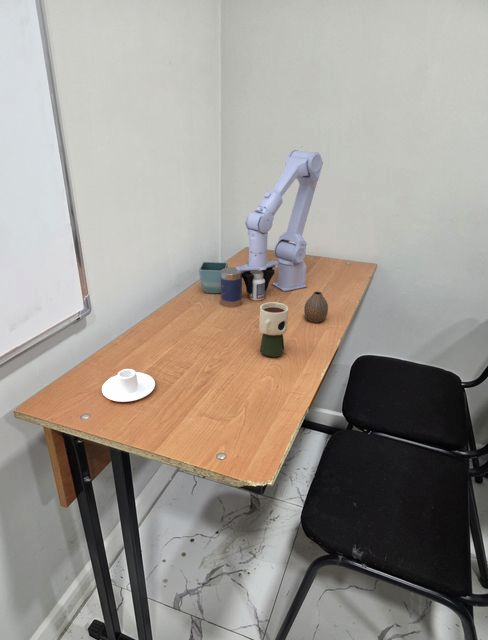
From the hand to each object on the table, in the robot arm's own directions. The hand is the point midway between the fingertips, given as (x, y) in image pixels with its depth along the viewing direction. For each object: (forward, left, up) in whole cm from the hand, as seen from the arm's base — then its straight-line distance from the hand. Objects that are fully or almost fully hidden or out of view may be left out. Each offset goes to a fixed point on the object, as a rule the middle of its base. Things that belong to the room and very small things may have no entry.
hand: (256, 291), depth 148 cm
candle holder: (+53, +33, -3) cm, 62 cm away
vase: (-7, +23, -3) cm, 24 cm away
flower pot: (+10, -12, -3) cm, 16 cm away
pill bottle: (0, 0, -3) cm, 3 cm away
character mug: (+15, +34, -3) cm, 37 cm away
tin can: (+9, 0, -2) cm, 10 cm away
